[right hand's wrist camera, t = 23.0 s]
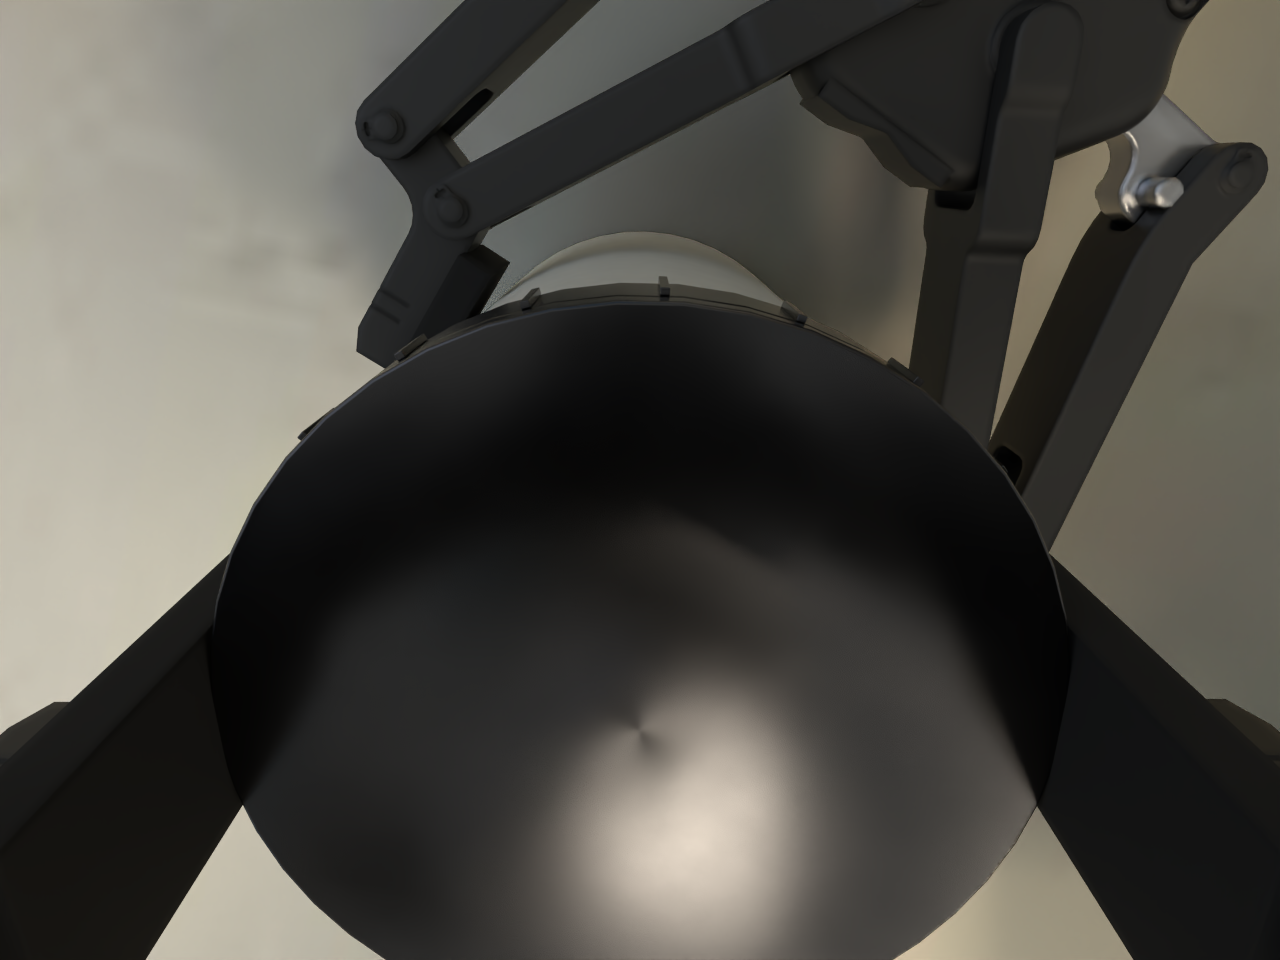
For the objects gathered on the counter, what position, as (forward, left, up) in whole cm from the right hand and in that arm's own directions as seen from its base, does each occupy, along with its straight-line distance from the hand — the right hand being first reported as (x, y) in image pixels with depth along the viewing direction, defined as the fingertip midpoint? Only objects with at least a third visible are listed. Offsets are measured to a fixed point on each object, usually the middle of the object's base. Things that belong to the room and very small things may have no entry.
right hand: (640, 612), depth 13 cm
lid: (0, 0, +3) cm, 3 cm away
